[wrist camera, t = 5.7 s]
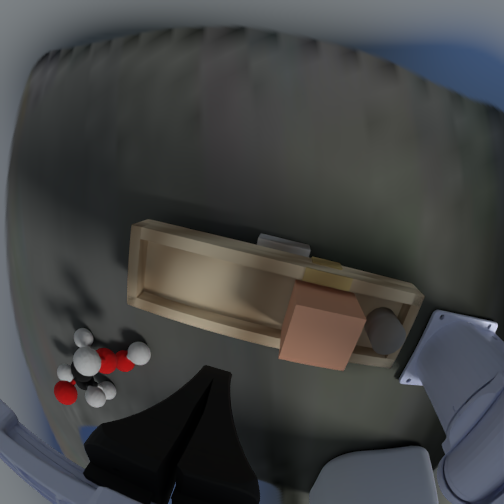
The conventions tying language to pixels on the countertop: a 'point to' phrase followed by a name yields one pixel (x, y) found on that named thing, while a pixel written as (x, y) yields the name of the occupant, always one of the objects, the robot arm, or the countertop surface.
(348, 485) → the plastic bottle
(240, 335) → the wooden tray
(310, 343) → the pink cube
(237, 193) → the countertop surface
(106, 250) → the countertop surface
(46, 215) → the countertop surface
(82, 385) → the molecular model
